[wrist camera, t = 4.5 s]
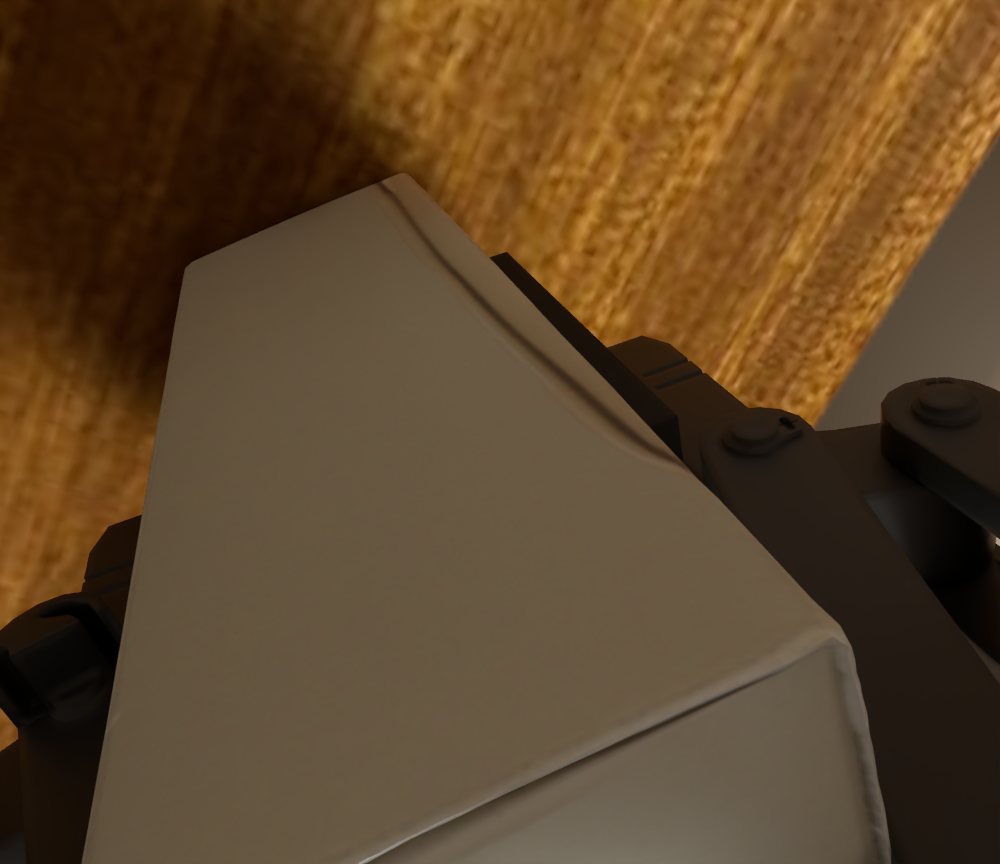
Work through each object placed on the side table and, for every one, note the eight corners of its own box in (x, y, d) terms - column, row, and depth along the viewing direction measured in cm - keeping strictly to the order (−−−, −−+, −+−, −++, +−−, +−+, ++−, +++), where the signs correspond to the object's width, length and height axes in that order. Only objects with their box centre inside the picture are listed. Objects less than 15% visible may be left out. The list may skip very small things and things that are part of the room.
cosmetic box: (514, 439, 17) (944, 1087, 7) (321, 530, 17) (488, 1348, 7) (401, 152, 14) (907, 613, 4) (156, 258, 14) (3, 1079, 4)
